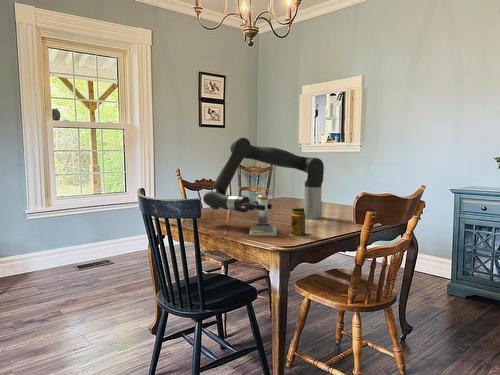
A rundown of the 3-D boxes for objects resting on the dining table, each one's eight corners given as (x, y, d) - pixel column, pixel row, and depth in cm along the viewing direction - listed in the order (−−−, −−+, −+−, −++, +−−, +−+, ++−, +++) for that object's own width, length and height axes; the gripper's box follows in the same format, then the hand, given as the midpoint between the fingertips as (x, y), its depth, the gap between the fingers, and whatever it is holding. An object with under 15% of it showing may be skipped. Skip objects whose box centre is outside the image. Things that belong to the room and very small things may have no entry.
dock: (276, 229, 179) (276, 222, 179) (276, 235, 167) (276, 227, 167) (250, 229, 180) (250, 222, 179) (249, 235, 168) (249, 227, 168)
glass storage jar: (267, 221, 175) (268, 195, 174) (267, 223, 171) (268, 196, 169) (257, 220, 176) (257, 195, 174) (257, 222, 171) (257, 196, 170)
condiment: (287, 235, 169) (287, 208, 167) (297, 232, 175) (298, 206, 174) (301, 237, 164) (301, 210, 163) (311, 234, 170) (312, 207, 169)
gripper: (228, 197, 175) (258, 200, 165) (247, 194, 186) (277, 197, 176) (228, 213, 176) (258, 217, 165) (247, 209, 187) (276, 213, 177)
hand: (267, 207), depth 171 cm, fingers closed on glass storage jar, 4 cm apart
